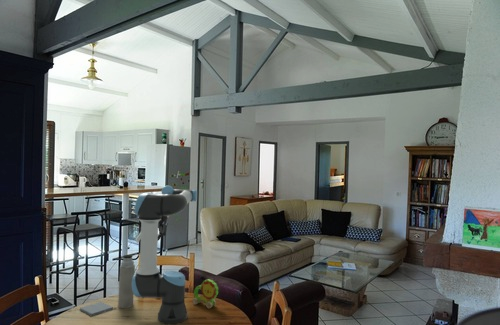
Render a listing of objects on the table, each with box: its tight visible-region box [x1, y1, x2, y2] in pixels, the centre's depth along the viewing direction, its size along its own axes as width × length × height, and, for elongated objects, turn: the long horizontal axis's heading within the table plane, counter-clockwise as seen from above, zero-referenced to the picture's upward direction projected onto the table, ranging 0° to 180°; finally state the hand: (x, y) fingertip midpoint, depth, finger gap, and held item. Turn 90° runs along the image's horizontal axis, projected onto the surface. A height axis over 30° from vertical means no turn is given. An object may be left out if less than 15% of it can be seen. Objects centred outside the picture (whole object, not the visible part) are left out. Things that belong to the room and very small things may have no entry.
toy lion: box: [191, 278, 219, 310], centre depth 196 cm, size 16×5×15 cm, turn 61°
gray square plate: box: [79, 301, 114, 317], centre depth 185 cm, size 12×12×1 cm
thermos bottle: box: [117, 254, 136, 309], centre depth 193 cm, size 8×8×28 cm
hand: (145, 242), depth 205 cm, fingers open, 13 cm apart
